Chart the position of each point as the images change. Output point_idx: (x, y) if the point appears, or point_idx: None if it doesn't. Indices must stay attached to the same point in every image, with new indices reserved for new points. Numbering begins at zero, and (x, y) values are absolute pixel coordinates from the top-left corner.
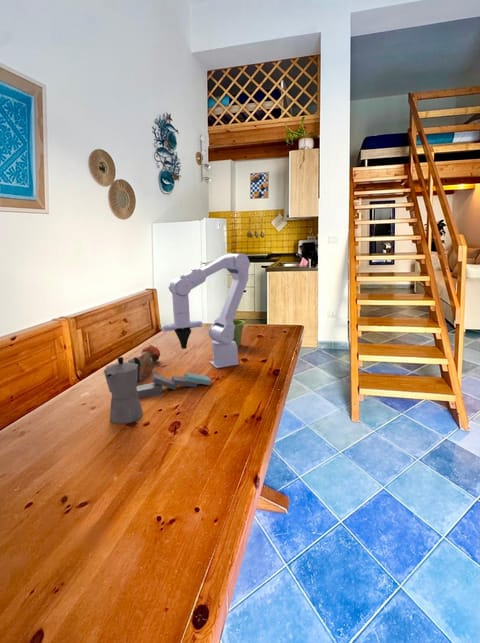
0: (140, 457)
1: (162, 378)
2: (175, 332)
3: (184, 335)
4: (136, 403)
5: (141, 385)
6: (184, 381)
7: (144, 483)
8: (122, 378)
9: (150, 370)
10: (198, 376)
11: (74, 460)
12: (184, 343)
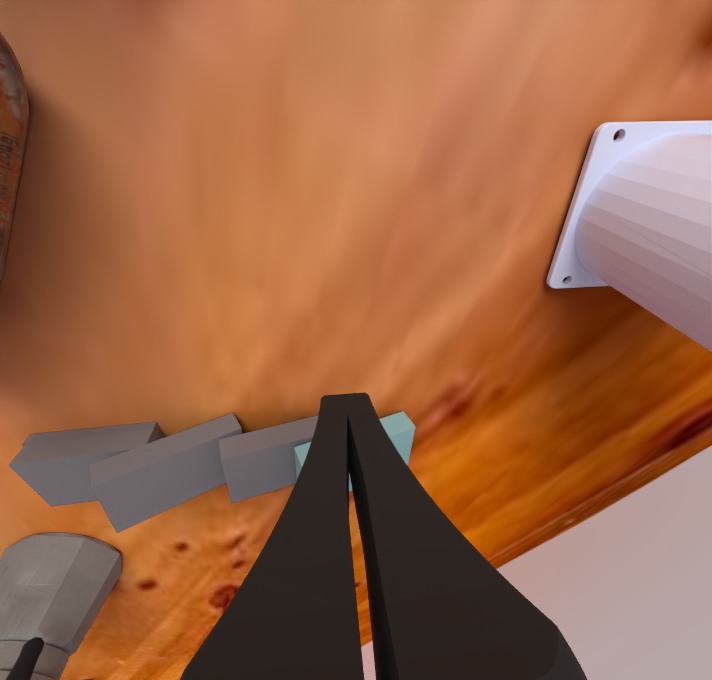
0: (155, 642)
1: (162, 483)
2: (211, 641)
3: (373, 643)
4: (88, 627)
5: (48, 464)
6: (283, 486)
7: (172, 667)
8: None
9: (11, 106)
10: None
11: None
12: (355, 498)
